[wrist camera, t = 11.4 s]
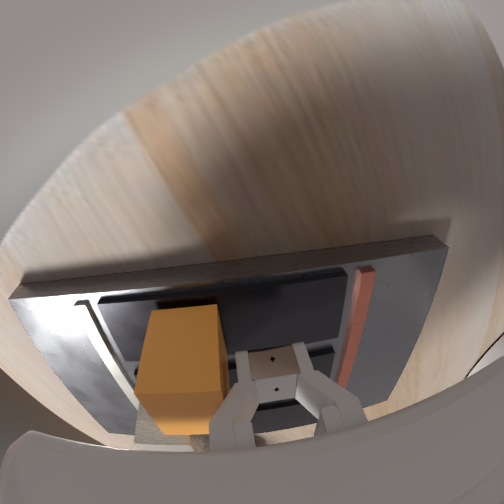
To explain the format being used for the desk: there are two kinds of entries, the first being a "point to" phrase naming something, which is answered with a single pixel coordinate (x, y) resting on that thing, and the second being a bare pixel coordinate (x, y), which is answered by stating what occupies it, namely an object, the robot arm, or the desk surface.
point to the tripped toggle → (183, 369)
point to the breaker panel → (240, 325)
